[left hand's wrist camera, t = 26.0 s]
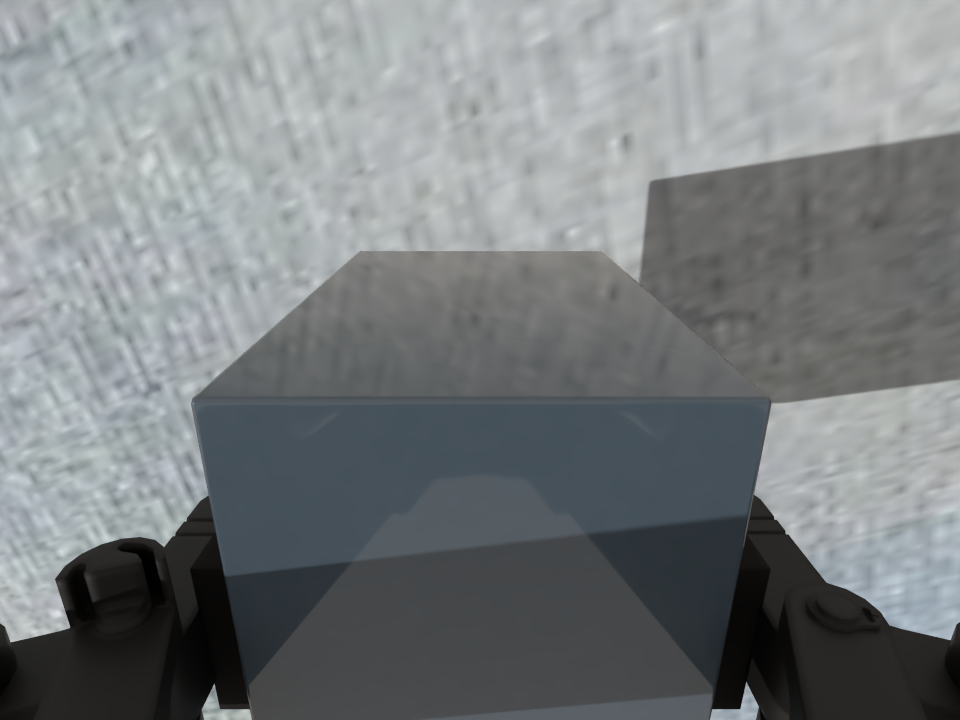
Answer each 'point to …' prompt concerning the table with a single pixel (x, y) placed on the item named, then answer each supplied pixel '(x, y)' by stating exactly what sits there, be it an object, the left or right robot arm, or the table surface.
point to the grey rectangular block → (481, 494)
